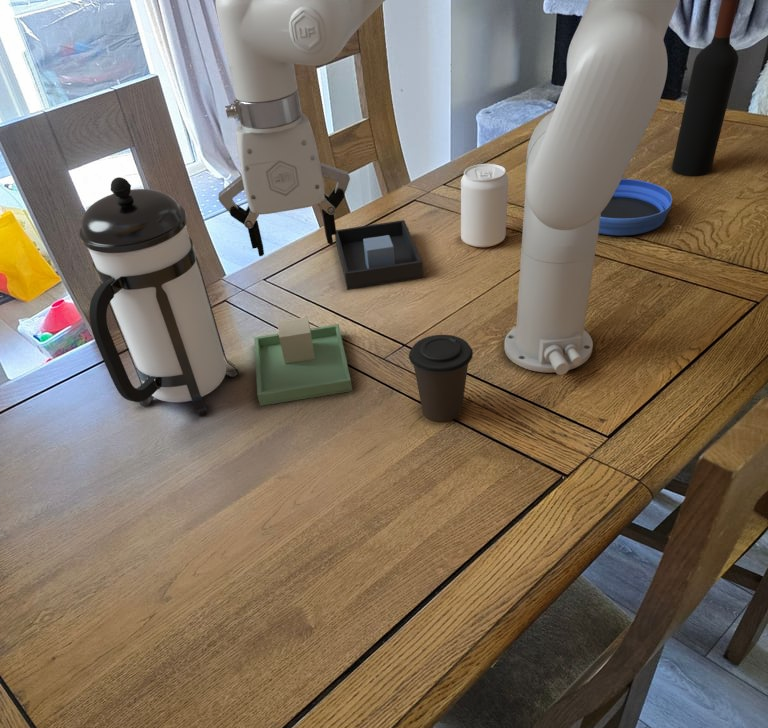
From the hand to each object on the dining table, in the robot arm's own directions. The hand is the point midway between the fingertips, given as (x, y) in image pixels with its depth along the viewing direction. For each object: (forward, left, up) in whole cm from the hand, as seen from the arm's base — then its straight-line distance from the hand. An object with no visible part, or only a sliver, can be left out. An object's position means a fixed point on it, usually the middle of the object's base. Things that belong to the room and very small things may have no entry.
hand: (295, 246), depth 97 cm
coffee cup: (-21, -16, -16) cm, 31 cm away
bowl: (+27, -60, -16) cm, 67 cm away
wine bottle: (+43, -82, -16) cm, 94 cm away
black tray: (+24, -14, -16) cm, 32 cm away
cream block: (-3, +2, -15) cm, 16 cm away
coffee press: (-8, +19, -16) cm, 26 cm away
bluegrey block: (+20, -14, -15) cm, 29 cm away
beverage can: (+26, -34, -16) cm, 46 cm away
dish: (-6, +2, -16) cm, 17 cm away
